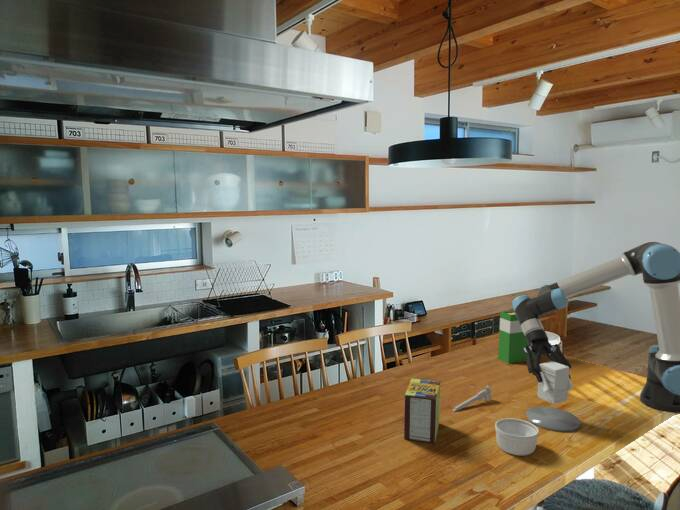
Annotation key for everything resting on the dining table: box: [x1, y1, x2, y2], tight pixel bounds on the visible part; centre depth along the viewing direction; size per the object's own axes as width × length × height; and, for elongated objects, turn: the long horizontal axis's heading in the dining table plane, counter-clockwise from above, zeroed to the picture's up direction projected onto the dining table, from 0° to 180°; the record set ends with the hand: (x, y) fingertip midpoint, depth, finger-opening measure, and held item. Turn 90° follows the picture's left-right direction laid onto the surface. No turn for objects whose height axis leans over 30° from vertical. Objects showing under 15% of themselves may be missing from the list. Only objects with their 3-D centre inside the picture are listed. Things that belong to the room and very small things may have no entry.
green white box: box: [497, 310, 534, 364], centre depth 241 cm, size 18×7×24 cm, turn 111°
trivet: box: [525, 406, 581, 433], centre depth 176 cm, size 18×18×1 cm
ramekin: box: [494, 417, 540, 457], centre depth 156 cm, size 13×13×7 cm
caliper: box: [451, 385, 492, 413], centre depth 188 cm, size 20×1×6 cm, turn 123°
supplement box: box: [536, 360, 570, 405], centre depth 175 cm, size 7×7×13 cm
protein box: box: [403, 378, 441, 444], centre depth 166 cm, size 10×15×16 cm
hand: (558, 389), depth 172 cm, fingers closed on supplement box, 9 cm apart
